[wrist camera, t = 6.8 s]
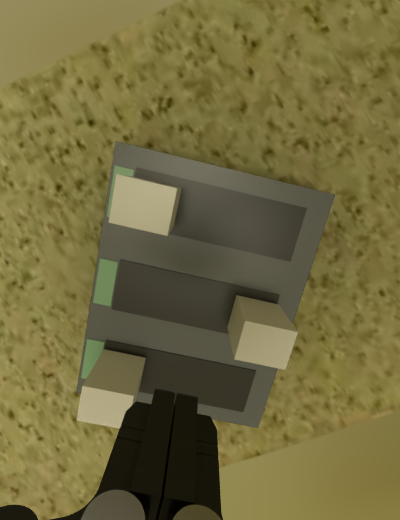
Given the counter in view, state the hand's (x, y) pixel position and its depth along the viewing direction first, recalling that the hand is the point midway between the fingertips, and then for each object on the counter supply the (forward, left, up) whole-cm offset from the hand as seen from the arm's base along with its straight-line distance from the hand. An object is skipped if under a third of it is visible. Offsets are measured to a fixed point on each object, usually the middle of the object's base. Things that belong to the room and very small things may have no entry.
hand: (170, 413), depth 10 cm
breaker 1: (+3, -6, -10) cm, 12 cm away
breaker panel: (-1, 0, -14) cm, 14 cm away
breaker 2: (+3, +6, -10) cm, 12 cm away
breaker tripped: (-5, 0, -10) cm, 11 cm away
